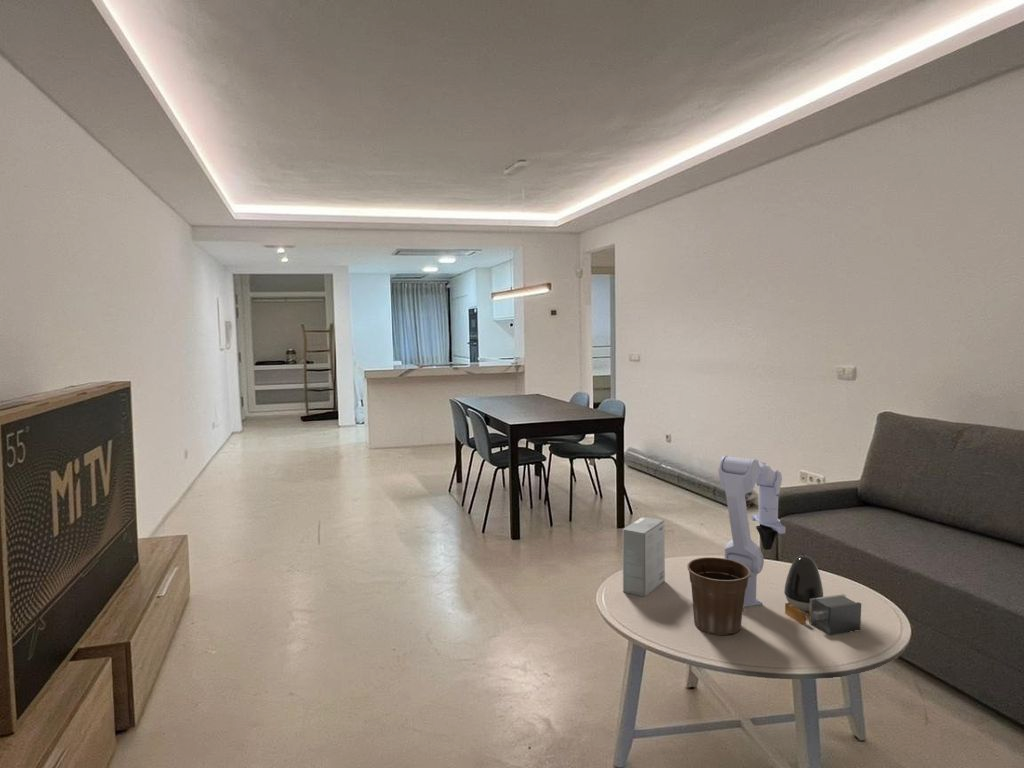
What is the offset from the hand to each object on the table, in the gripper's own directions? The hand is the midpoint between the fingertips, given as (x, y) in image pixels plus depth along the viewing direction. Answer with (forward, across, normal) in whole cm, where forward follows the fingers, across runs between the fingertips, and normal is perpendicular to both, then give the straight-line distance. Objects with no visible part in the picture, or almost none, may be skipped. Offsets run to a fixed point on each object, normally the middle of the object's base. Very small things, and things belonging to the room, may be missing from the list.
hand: (767, 548), depth 204 cm
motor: (+10, -29, +2) cm, 31 cm away
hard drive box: (+11, +6, +39) cm, 41 cm away
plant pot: (+10, -23, +32) cm, 41 cm away
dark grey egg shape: (+11, -20, +2) cm, 22 cm away
